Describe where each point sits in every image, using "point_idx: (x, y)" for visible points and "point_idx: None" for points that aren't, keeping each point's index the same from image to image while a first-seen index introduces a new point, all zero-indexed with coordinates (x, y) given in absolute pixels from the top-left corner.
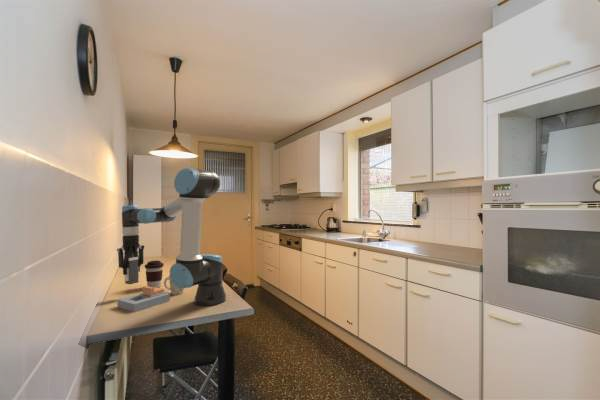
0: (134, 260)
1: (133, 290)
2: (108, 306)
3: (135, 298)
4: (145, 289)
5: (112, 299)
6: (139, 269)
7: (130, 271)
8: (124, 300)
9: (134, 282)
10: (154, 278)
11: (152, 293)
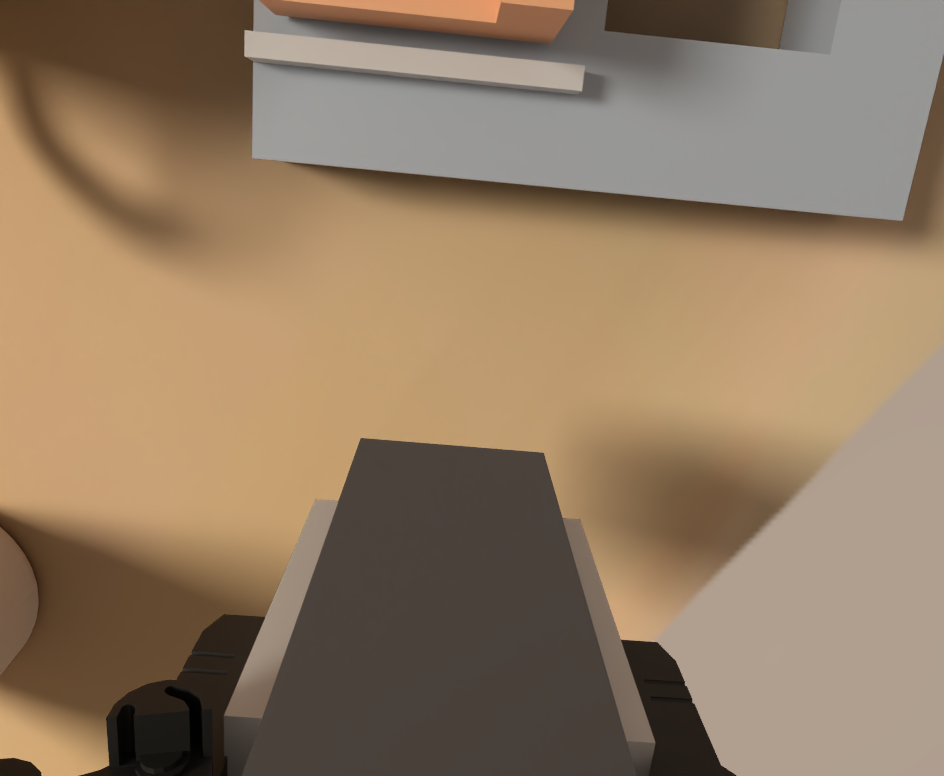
0: None
1: None
2: (850, 363)
3: (697, 43)
4: None
5: (613, 589)
6: (202, 657)
7: (570, 611)
8: (910, 52)
9: (448, 452)
10: None
11: None
